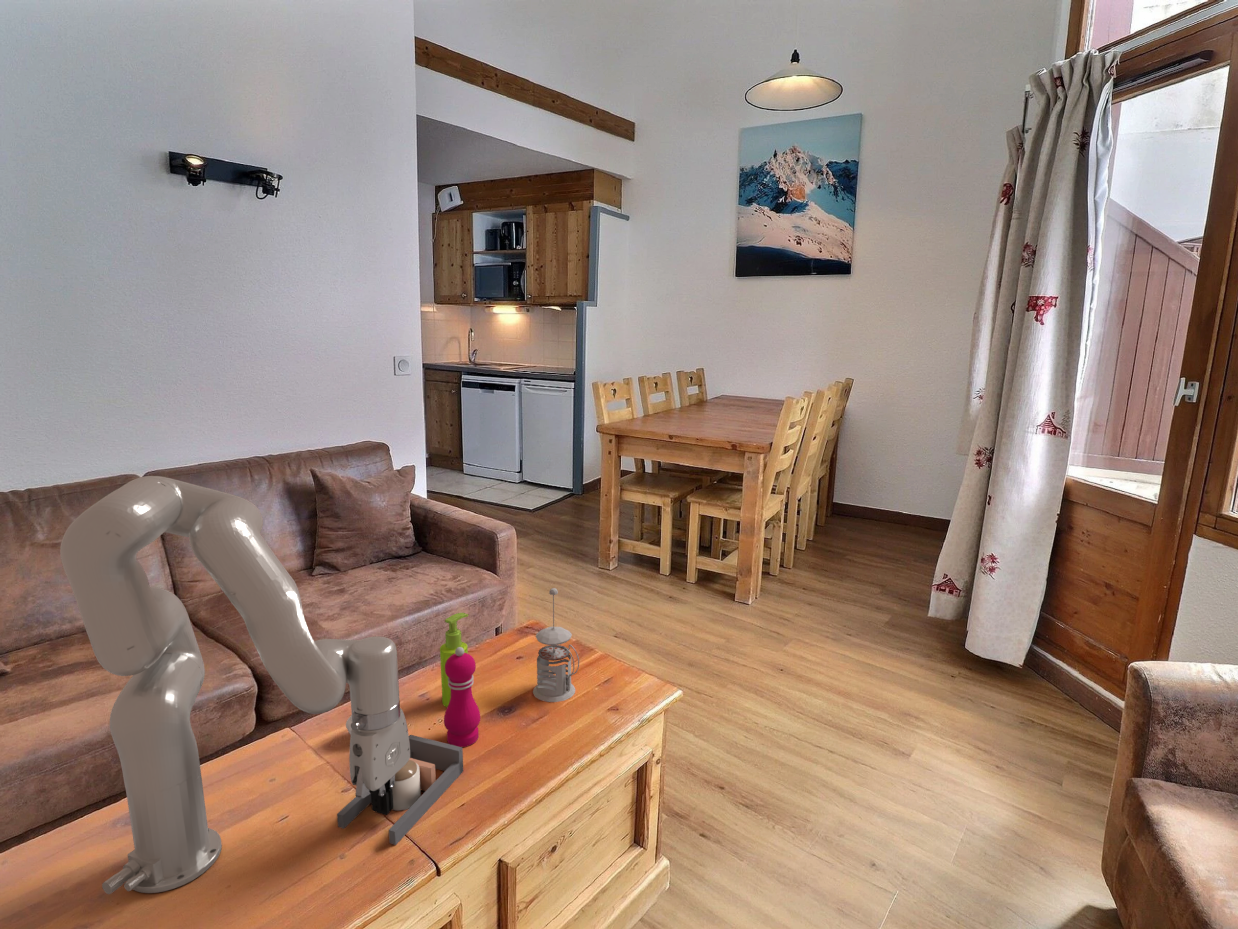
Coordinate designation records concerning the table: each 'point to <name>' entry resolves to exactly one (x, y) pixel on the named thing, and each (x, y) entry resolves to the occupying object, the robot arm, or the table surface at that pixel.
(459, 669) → the pepper mill
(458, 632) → the soap dispenser
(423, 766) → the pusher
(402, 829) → the frame
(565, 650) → the french press
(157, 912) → the table surface
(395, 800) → the jar
